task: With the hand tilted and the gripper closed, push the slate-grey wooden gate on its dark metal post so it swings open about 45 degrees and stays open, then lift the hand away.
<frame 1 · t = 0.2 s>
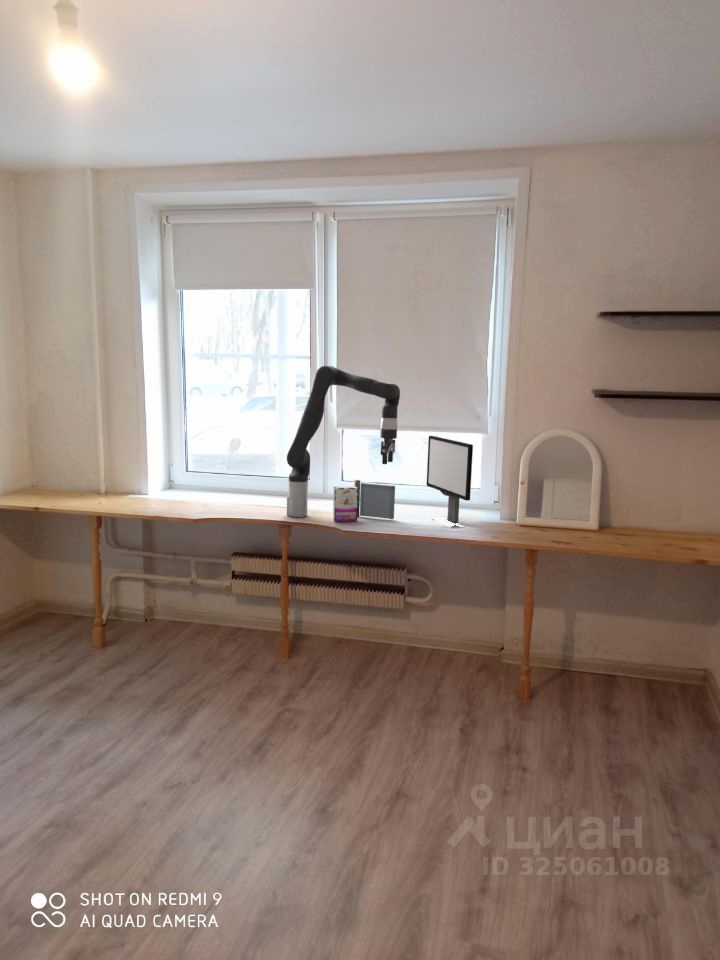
hand: (387, 463, 320), 29 cm above the table, tool pointing down, fingers open, 8 cm apart
computer monitor: (447, 523, 334), on the table
hinge post: (356, 516, 342), on the table
gate: (377, 501, 337), point 9 cm above the table, hinge at 0.0°
candy bar box: (344, 521, 332), on the table
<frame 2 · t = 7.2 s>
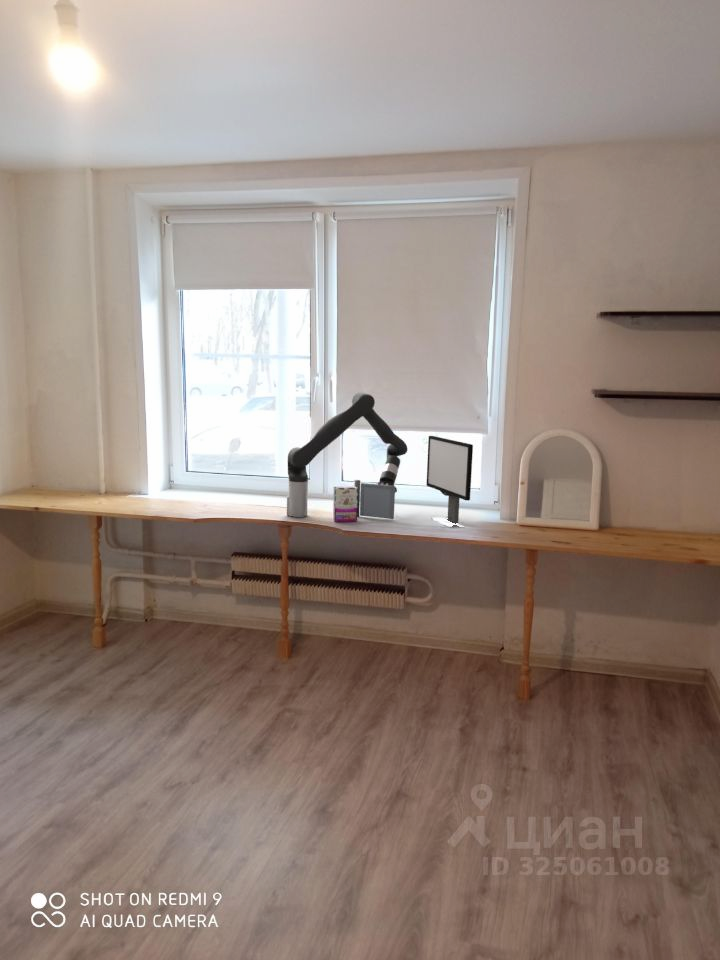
hand: (380, 502, 338), 8 cm above the table, tool tilted 45°, fingers closed
gate: (377, 501, 337), point 9 cm above the table, hinge at 0.1°, touching gripper
everything else where it was.
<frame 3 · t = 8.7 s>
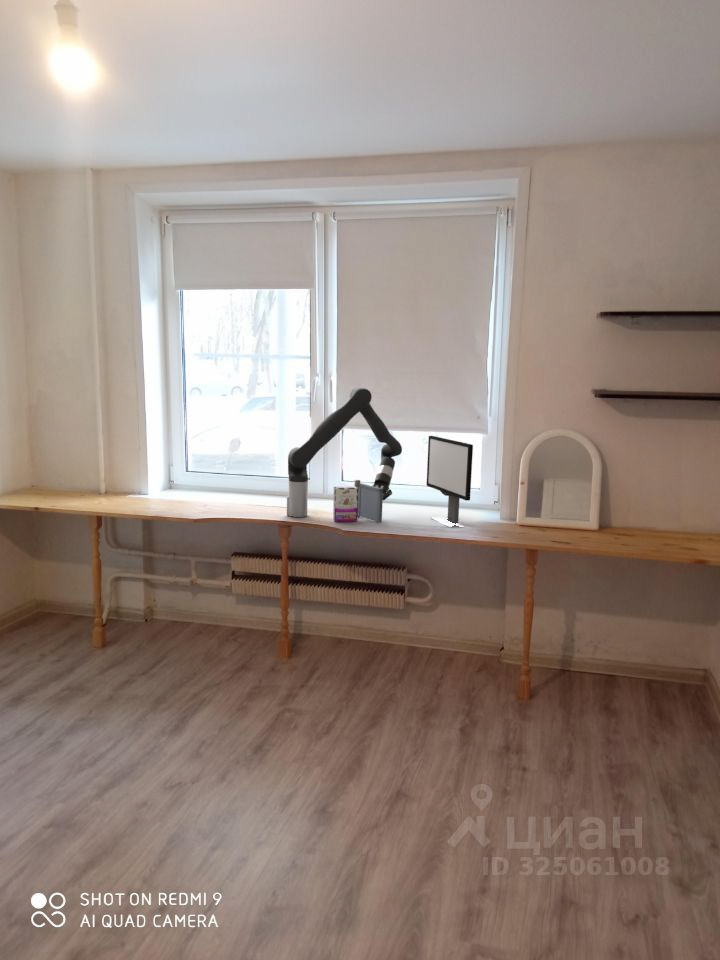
hand: (375, 506, 332), 7 cm above the table, tool tilted 45°, fingers closed
gate: (369, 502, 333), point 9 cm above the table, hinge at 32.6°, touching gripper
everything else where it was.
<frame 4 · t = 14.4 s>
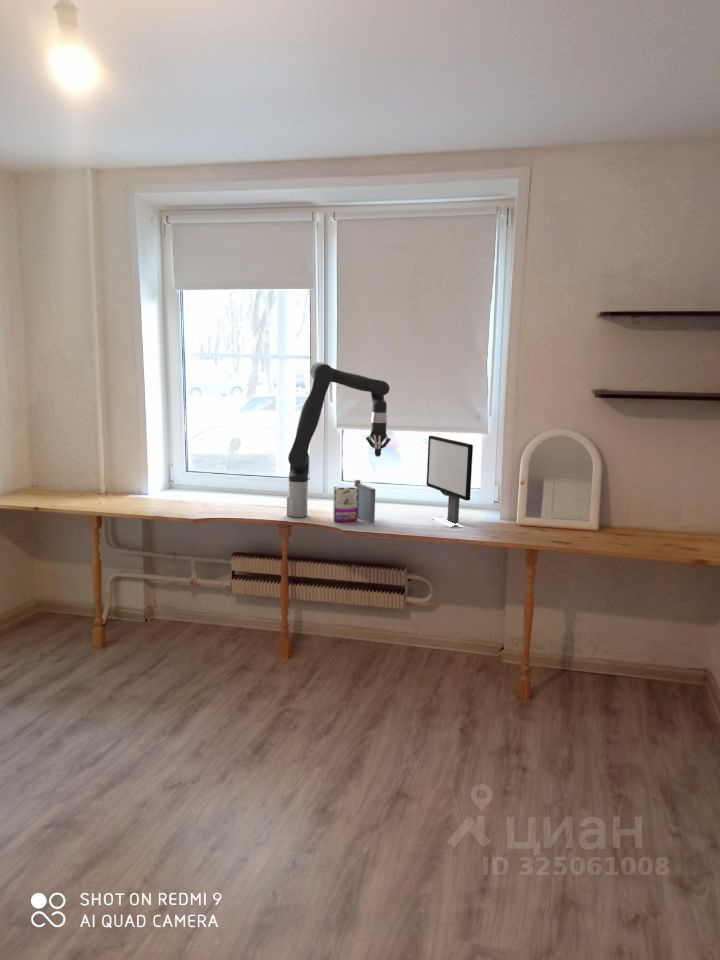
hand: (377, 456, 347), 29 cm above the table, tool pointing down, fingers closed
gate: (365, 502, 331), point 9 cm above the table, hinge at 45.1°
everything else where it was.
at the end: gate at +45° (first picture: +0°) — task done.
